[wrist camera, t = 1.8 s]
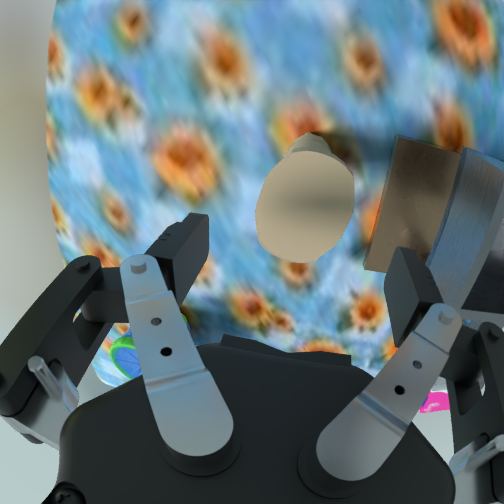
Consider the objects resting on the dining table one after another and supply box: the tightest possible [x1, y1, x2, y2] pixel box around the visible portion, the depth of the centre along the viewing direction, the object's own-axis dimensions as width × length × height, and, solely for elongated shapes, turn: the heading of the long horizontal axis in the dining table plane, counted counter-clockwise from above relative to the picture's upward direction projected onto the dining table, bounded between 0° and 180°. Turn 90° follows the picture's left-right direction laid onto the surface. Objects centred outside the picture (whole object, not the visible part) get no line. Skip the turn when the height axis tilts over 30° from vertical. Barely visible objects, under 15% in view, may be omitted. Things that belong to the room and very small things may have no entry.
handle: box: [255, 132, 354, 263], centre depth 22 cm, size 5×6×15 cm
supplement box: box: [420, 377, 450, 413], centre depth 32 cm, size 6×6×12 cm
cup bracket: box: [363, 134, 504, 390], centre depth 21 cm, size 17×14×18 cm
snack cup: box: [110, 313, 191, 380], centre depth 41 cm, size 16×10×10 cm
